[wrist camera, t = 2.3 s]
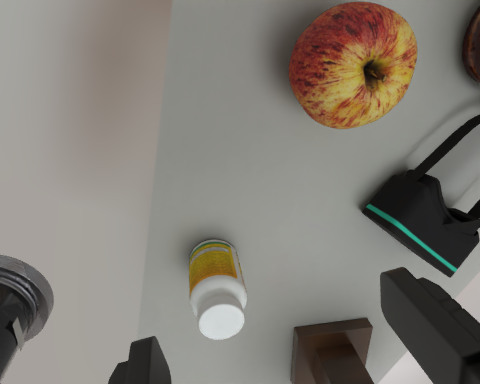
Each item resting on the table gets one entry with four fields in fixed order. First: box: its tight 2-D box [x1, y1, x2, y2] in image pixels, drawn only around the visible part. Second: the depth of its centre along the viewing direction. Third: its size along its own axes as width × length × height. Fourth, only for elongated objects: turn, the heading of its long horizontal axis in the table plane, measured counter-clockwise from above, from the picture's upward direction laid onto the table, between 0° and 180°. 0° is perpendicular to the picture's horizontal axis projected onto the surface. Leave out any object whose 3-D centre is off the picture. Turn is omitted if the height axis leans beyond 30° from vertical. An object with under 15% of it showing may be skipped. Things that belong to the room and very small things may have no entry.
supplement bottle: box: [189, 240, 247, 340], centre depth 34 cm, size 5×5×10 cm
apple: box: [289, 2, 417, 129], centre depth 27 cm, size 9×9×10 cm
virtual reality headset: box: [362, 115, 480, 277], centre depth 34 cm, size 11×17×10 cm, turn 141°
